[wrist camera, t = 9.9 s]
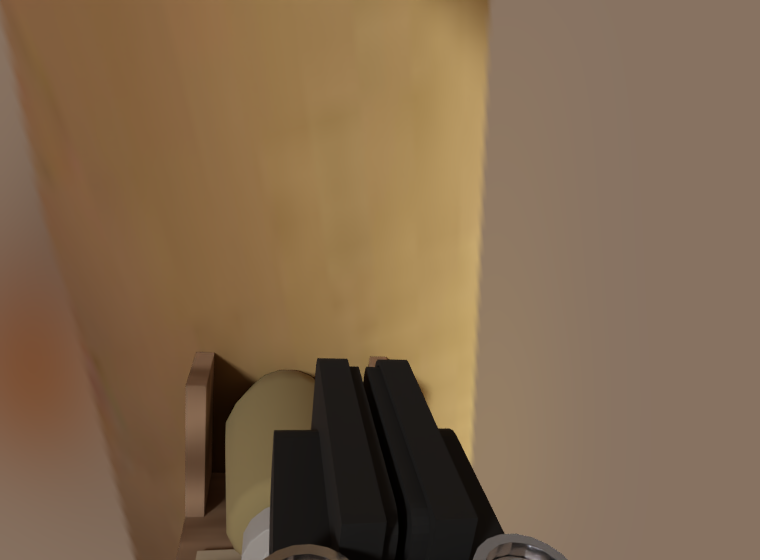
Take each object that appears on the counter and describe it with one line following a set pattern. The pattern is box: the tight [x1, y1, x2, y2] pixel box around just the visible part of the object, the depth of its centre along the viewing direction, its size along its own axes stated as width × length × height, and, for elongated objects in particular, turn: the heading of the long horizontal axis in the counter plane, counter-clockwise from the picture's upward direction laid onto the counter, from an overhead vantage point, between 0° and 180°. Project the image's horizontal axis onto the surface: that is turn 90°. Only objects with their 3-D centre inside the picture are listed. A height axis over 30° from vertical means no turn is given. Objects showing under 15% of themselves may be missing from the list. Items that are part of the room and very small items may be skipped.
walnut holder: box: [176, 352, 387, 560], centre depth 36 cm, size 11×13×9 cm
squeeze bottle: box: [225, 370, 315, 560], centre depth 31 cm, size 8×8×18 cm
